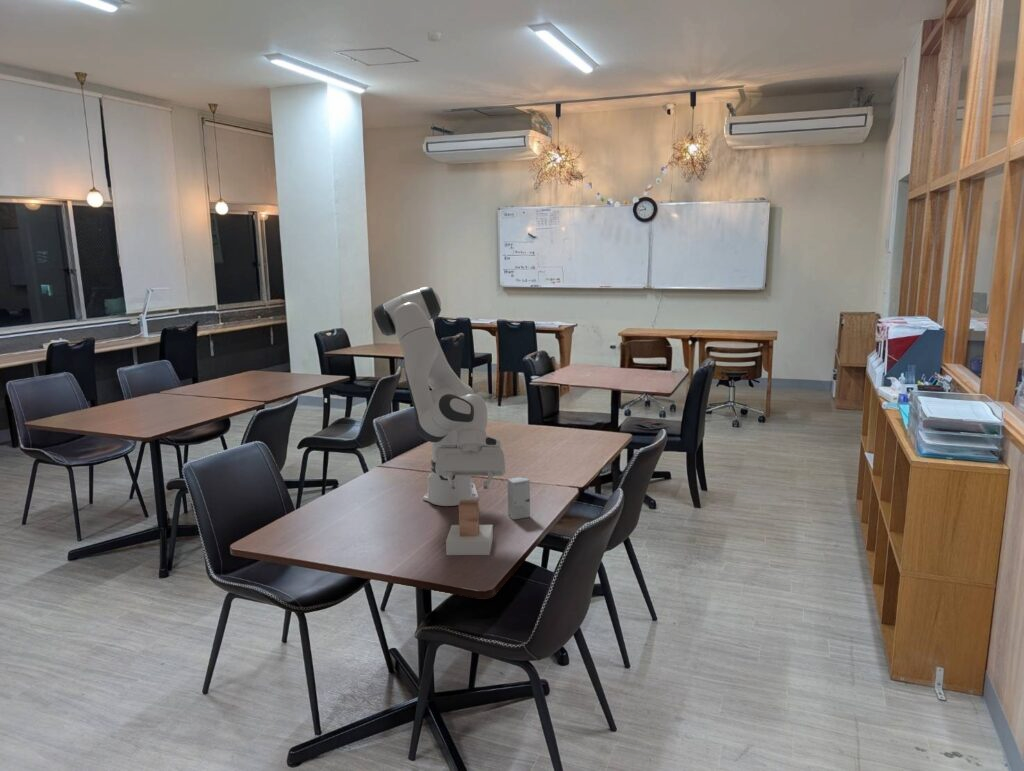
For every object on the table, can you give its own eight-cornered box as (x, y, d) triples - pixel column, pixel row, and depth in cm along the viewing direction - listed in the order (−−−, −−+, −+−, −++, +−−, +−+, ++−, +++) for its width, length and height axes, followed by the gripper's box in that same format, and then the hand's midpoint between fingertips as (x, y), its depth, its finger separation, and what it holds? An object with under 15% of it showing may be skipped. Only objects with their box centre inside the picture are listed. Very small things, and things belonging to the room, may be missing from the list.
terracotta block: (462, 529, 200) (460, 499, 198) (479, 529, 199) (478, 499, 198) (459, 536, 195) (458, 505, 193) (477, 536, 195) (476, 505, 193)
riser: (452, 537, 204) (451, 524, 203) (493, 537, 204) (492, 524, 203) (446, 555, 192) (445, 541, 192) (489, 554, 192) (489, 541, 191)
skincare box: (513, 520, 217) (512, 482, 214) (507, 515, 221) (506, 478, 218) (531, 516, 219) (530, 479, 217) (525, 512, 223) (524, 476, 221)
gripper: (435, 440, 203) (431, 483, 195) (505, 440, 203) (504, 483, 195) (437, 450, 208) (434, 492, 201) (505, 450, 208) (505, 493, 200)
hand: (469, 488), depth 198 cm, fingers open, 8 cm apart
